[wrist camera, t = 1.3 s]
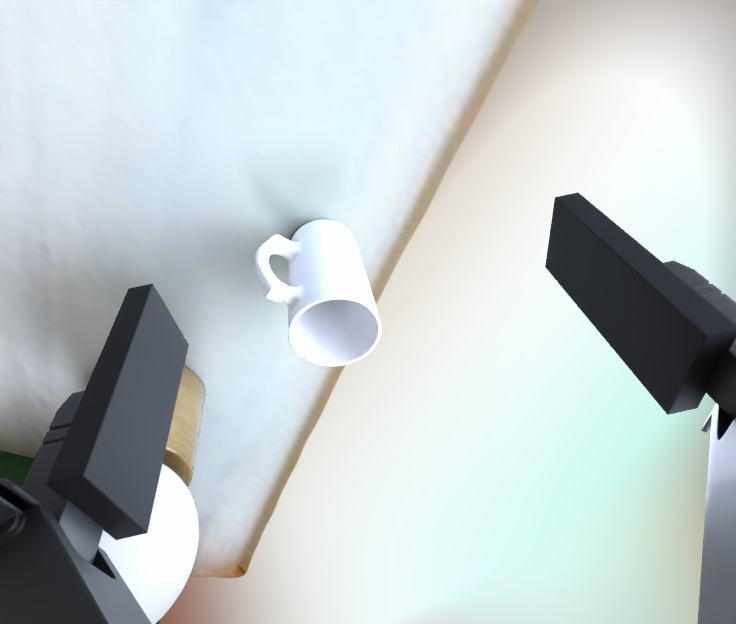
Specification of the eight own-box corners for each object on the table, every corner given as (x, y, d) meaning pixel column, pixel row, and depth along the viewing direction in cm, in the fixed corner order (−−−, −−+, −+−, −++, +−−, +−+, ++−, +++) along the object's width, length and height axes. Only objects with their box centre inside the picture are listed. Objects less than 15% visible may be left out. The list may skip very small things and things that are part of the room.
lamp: (69, 318, 42) (-106, 629, 23) (225, 334, 46) (188, 608, 27) (84, 420, 51) (-32, 706, 32) (214, 425, 55) (181, 681, 36)
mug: (373, 239, 42) (400, 321, 32) (332, 289, 45) (346, 377, 35) (278, 181, 37) (279, 259, 28) (240, 241, 40) (228, 330, 30)
